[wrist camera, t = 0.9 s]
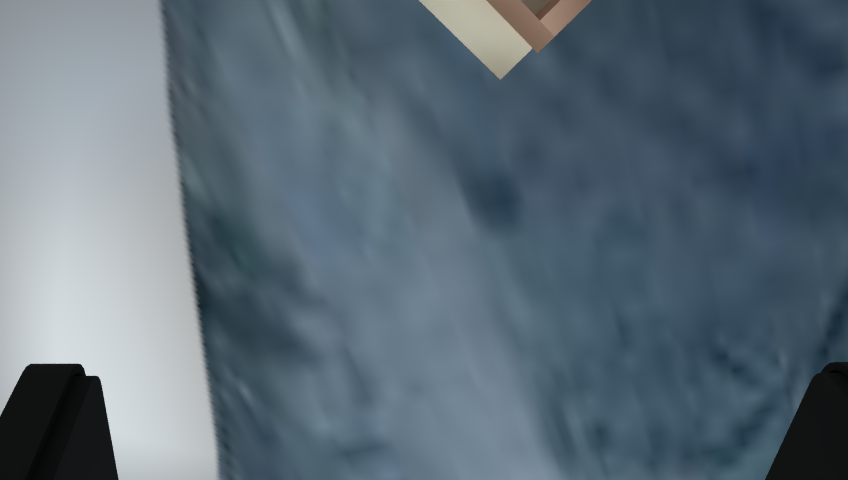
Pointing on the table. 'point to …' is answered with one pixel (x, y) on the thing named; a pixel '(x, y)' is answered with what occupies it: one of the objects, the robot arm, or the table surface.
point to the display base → (504, 26)
